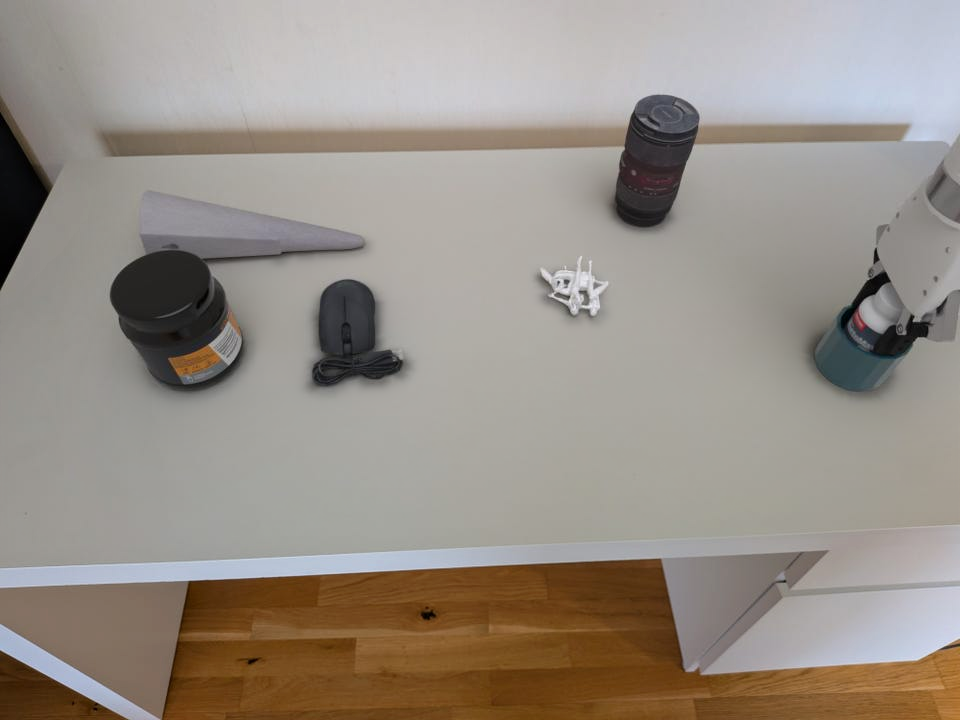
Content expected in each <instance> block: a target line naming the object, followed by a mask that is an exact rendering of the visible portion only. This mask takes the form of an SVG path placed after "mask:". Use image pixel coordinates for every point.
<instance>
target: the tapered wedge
mask: <svg viewBox="0 0 960 720" xmlns="http://www.w3.org/2000/svg"><path fill="white" fill-rule="evenodd" d="M139 222H140V223H139V225H140V230H139V231H140V232H139V237H140V239H141V242H142V246H143V248H144V251H145V255H147V254H150V253H153V252H157V251H163V250H182V251H187V252H190V253H193V254H195V255H197V256H199V257H200V258H201V259H203V260H204V259H217V258H218V259H219V258H220V259H221V258H236V257H237V258H238V257H253V256H254V257H256V256H273V255H274V256H275V255H282V253H283V252H284V253H285V252H286V253H287V252H306V251H307V252H308V251H309V252H310V251H327V250H328V251H329V250H339V251H340V250H352V249H358V248H362V247H363V246H364V245H365V239H364V237H363V236H361V235H359V234H356V233H352V232H348V231H344V230H339V229H336V228H332V227H326V226H322V225H317V224H313V223H308V222H304V221H297V220H293V219H288V218H283V217H279V216H274V215H269V214H265V213H259V212H254V211H249V210H244V209H240V208H236V207H231V206H226V205H221V204H216V203H213V202H212V203H211V202H206V201H202V200H196V199H192V198H187V197H183V196H178V195H174V194H170V193H164V192H160V191H155V190H154V191H153V190H150V189H146V190H145V191H144V192H143V194H142V196H141V200H140V207H139Z"/></svg>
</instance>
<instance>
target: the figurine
mask: <svg viewBox="0 0 960 720" xmlns="http://www.w3.org/2000/svg"><path fill="white" fill-rule="evenodd" d="M582 260H583V256H582V255H580V256H578V260H577V261H576V268H575V270H568V269H567V267H566V265H563V267H564V269H563V270H561V269H560V270H557V271H556V272H555V273H554V275H552V274H550V273H549V272H548V270H546V268H544V267H540V268H539V271H540V272H541V277H542V278H543V279H544V280H545V281H547V282H548V283H549V284H550V286H551V289H552V290H553V292H551V293H548V294H547V296H548V297H549V298H551V299H555V300H556V301H557V302H560V303H562V304H564V305H565V306H566V307H568V309H569V312H570V315H572V316H577V315H578V314H579V313H580V310H581V309H585V310H588V311H589V314H590V316H592V317H594V316H597V313H598V312H599V311H600V310H601V302H600V296H599V295H601V294H602V293H603V292H604V291H605V290H606V289H607V288H608V286H610V285H609V284H610V282H609V281H607V280H605V281H603V280H599V279H596V278H595V275H593V274H592V263H593V260H592V259H591V260H589V261H588V271H586V270H585V271H584V270H583V271H582ZM565 281H569V282H568V283H567V284H565ZM558 282H559V283H558ZM595 283H596V284H598V285H599V286H597V287H596V288H594V285H595ZM566 286H567V287H566ZM580 292H586V293H587V296H588V298H589V302H588V304H587V305H583V302H584V300H585V298H584V295H583V294H580ZM557 293H559V294H561V295H563V296H567V297H569V299H568V300H567V299H563V298H561V297H557V296H555V295H556V294H557Z"/></svg>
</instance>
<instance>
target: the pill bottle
mask: <svg viewBox="0 0 960 720" xmlns="http://www.w3.org/2000/svg"><path fill="white" fill-rule="evenodd" d="M904 306H905V305H904V304H903V302H902V300H901V299H900V297H899V295H898V293H897V291H896V289H895V288H894V286H893V284H892V282H889V283H886V284H884V285H883V286H882V287H881V288H880V289H879V291H878V292H877V293H876V294H875V295H872V296H869V297H867V298H866V299H864V300H863V302H862V303H861V304H860V305H859V307H858V308H857V310H856V311H855V313H854V314H853V315H852V317H851V318H850V320H849V321H848V322H847V324H846V325H845V327H844V328H843V332H844V335H845V336H846V337H847V338H848V339H849V340H850V341H851V342H852V343H853V344H854V345H855V346H857V347H858V348H860V349H862V350H864V351H865V352H867V353H871V354H875V353H874V351H873V348H874V346H875V344H876V343H877V342H878V340H879V339H880V338H881V336H882V335H883V334H884V333H885V331H886V330H887V329H888V327H889V326H891V325H897V323H898V320H899V318H900V316H901V313H902V311H903V308H904ZM913 322H915V319H914V320H913ZM875 355H878V356H890V354H875Z"/></svg>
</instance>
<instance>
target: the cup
mask: <svg viewBox="0 0 960 720" xmlns="http://www.w3.org/2000/svg"><path fill="white" fill-rule="evenodd" d="M855 311H856V309H854V308H853V307H852V305H851V304H848V305H846V306H844V307H843V308H842V309H841V310H840V311H839V312H838V314H837V315H836V316H835V318H834V319H833V321H832V323H831V324H830V326H829V327H828V328H827V330H826V332H825V333H824V335H823V336H822V338H821V339H820V341H819V342H818V344H817V346H816V348H815V350H814V361H815V365H816V368H817V369H818V370H819V372H820V373H821V374H822V376H824V377H825V378H826V379H827V380H828V381H830V382H831V384H834V385H836V386H837V387H840V388H842V389H844V390H847V391H851V392H862V393H863V392H870V391H873V390H875V389H877V388H879V387H880V386H881V385H882V384H883V383H885V381H886V380H887V379H888V377H889V376H890V375H891V374H892V373H893V372H894V370H895V369H896V368H897V367H898V366H899V365H900V363H902V361H903V360H904V358H906V356H907V355H908V354H909V352H910V351H911V350H912V348H913V347H914V343H913V344H912V345H911V346H910V347H909V348H908V350H907V351H906V352H905V353H903V354H900V355H891V354H890V356H878V355H875V354H871V353H867V352H865V351H864V350H862V349H860V348H858V347H857V346H855V345H854V344H853V343H852V342H851V341H850V340H849V339H848V338H847V337H846V336H845V335H844V332H843V328H844V327H845V325H846V324H847V322H848V321H849V320H850V318H851V317H852V315H853V314H854V313H855Z"/></svg>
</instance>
